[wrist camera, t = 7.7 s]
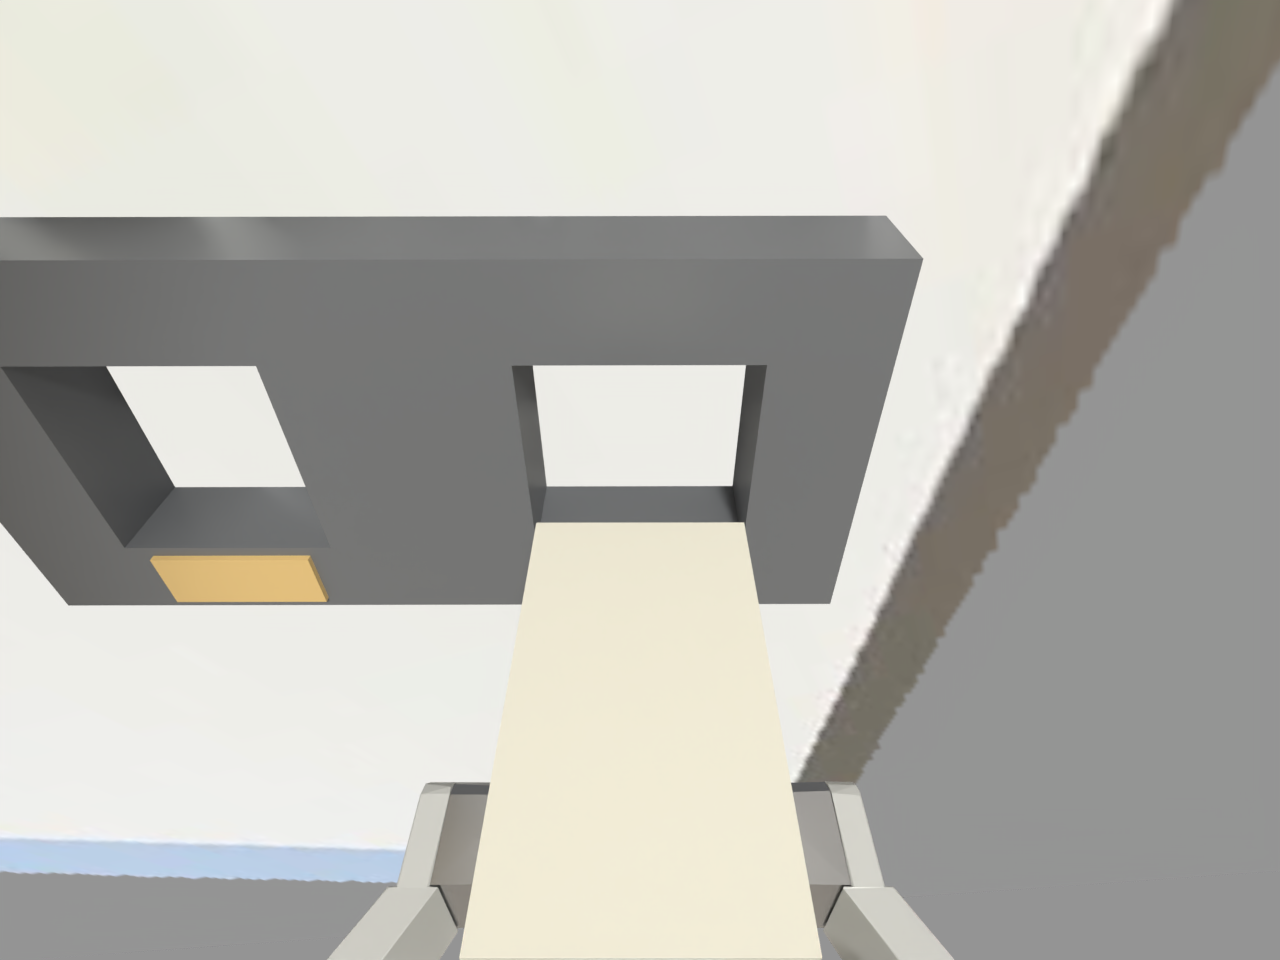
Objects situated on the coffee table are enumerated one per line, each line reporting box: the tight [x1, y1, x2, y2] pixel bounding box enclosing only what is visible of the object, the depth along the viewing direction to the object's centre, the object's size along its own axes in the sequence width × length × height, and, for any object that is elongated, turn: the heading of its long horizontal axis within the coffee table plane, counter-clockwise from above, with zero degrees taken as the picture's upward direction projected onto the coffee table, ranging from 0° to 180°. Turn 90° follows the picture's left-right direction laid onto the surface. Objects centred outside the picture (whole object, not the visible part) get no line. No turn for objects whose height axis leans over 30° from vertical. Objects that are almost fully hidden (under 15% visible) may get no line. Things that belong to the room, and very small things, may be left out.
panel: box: [0, 216, 923, 606], centre depth 20 cm, size 12×26×3 cm, turn 90°
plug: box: [459, 522, 822, 960], centre depth 12 cm, size 4×4×10 cm
